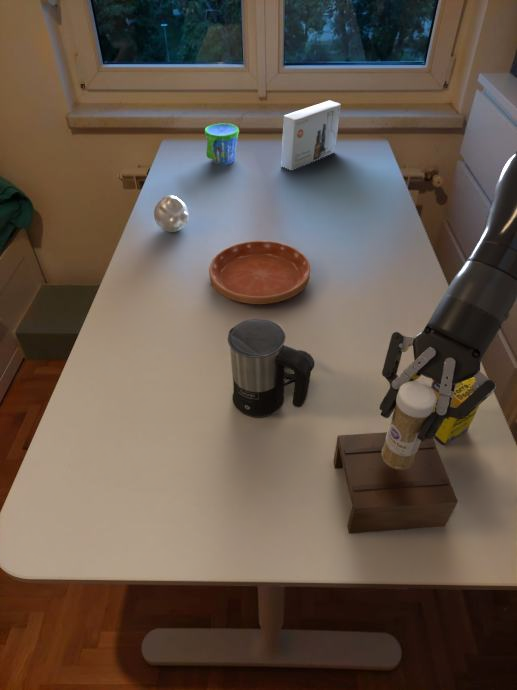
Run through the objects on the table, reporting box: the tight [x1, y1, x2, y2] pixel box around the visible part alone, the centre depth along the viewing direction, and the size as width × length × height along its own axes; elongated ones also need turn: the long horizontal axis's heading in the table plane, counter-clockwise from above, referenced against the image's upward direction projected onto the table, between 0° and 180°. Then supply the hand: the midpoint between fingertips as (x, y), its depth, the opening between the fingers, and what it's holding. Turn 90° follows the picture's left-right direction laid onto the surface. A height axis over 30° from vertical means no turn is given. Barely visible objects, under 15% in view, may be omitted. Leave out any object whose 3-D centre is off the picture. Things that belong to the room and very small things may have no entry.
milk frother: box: [227, 318, 315, 418], centre depth 87 cm, size 14×16×15 cm
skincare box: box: [280, 100, 342, 171], centre depth 159 cm, size 21×5×16 cm, turn 132°
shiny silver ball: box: [153, 195, 190, 233], centre depth 129 cm, size 9×10×10 cm
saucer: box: [208, 240, 311, 305], centre depth 115 cm, size 23×23×4 cm
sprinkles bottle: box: [381, 380, 437, 470], centre depth 65 cm, size 5×5×13 cm
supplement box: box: [430, 377, 480, 447], centre depth 81 cm, size 6×6×11 cm
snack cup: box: [204, 122, 240, 165], centre depth 161 cm, size 16×10×10 cm
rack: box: [333, 431, 459, 535], centre depth 73 cm, size 14×12×7 cm
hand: (402, 427), depth 63 cm, fingers closed on sprinkles bottle, 4 cm apart
